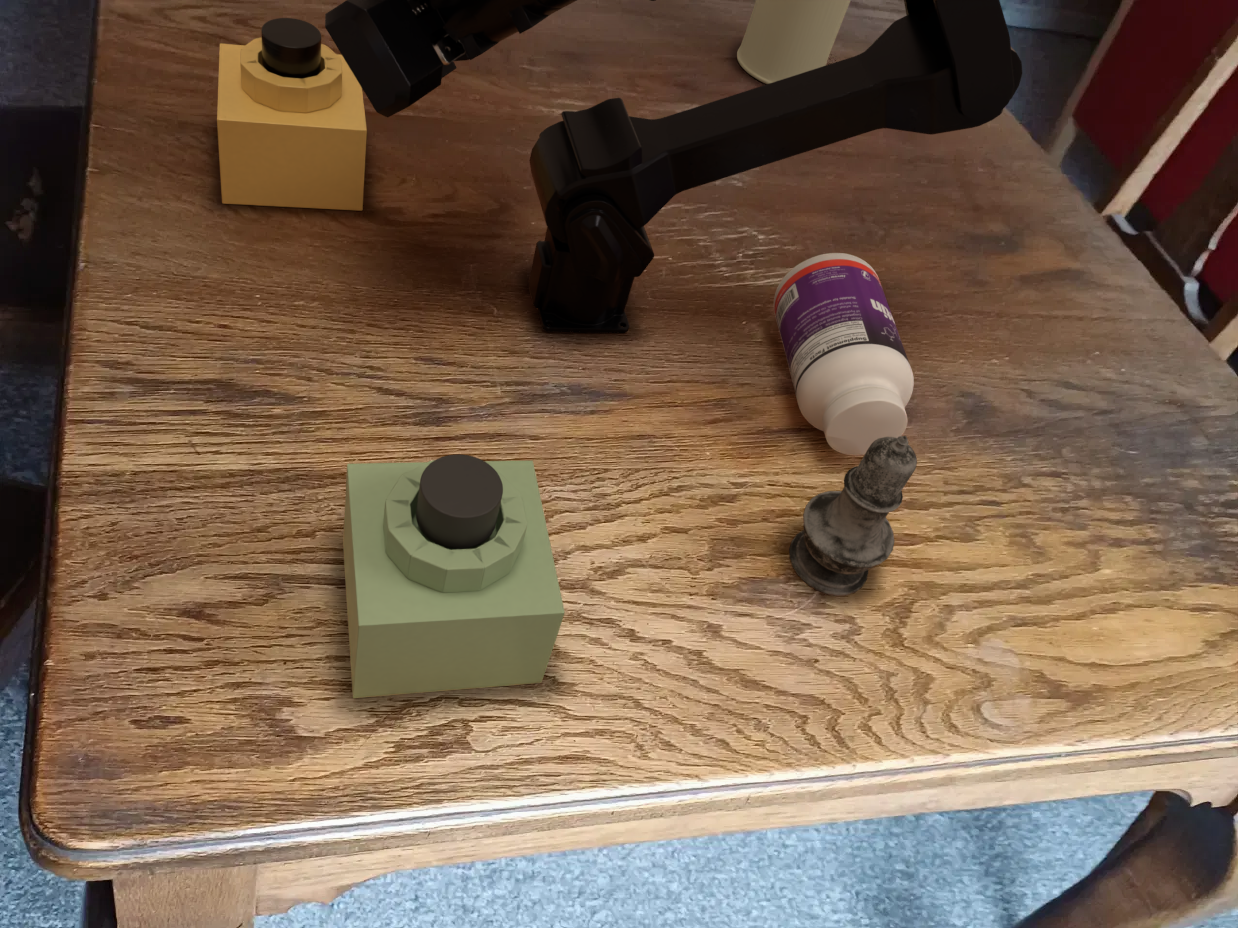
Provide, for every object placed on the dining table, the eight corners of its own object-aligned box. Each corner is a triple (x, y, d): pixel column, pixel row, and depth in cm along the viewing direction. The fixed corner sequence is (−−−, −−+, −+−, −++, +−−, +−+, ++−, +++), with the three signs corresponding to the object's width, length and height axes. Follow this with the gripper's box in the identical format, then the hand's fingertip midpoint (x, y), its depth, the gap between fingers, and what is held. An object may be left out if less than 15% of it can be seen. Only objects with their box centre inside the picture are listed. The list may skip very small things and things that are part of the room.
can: (725, 40, 113) (761, -75, 105) (803, 47, 116) (844, -64, 108) (752, 88, 108) (792, -30, 99) (833, 94, 111) (879, -19, 102)
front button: (490, 485, 56) (497, 453, 54) (501, 547, 53) (508, 516, 51) (412, 487, 54) (416, 454, 53) (419, 551, 52) (424, 519, 50)
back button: (319, 54, 79) (320, 21, 77) (321, 83, 76) (322, 50, 74) (262, 48, 78) (261, 15, 76) (262, 78, 75) (261, 44, 73)
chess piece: (870, 611, 67) (956, 489, 58) (780, 583, 67) (853, 457, 58) (873, 539, 71) (954, 416, 62) (788, 514, 71) (857, 386, 62)
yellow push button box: (354, 135, 88) (359, 31, 81) (362, 211, 82) (368, 105, 75) (224, 126, 85) (218, 17, 78) (222, 203, 79) (215, 93, 72)
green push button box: (514, 535, 65) (538, 435, 58) (541, 683, 59) (572, 590, 52) (342, 542, 62) (348, 437, 55) (352, 698, 56) (360, 601, 49)
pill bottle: (884, 309, 83) (934, 449, 74) (783, 340, 85) (820, 480, 76) (867, 231, 77) (920, 373, 68) (759, 265, 79) (796, 408, 70)
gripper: (548, -221, 64) (380, -100, 73) (363, -151, 51) (189, -16, 61) (635, -37, 68) (465, 53, 78) (484, 68, 56) (304, 161, 65)
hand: (366, 59), depth 70 cm, fingers closed
